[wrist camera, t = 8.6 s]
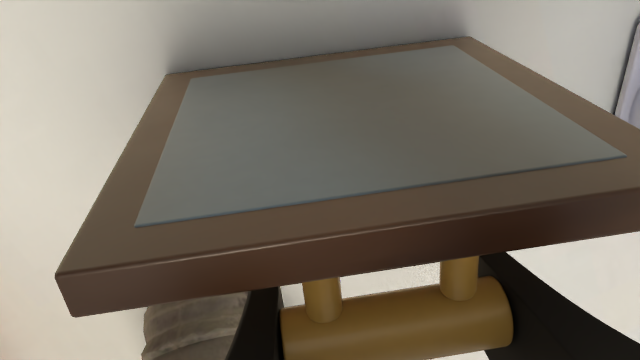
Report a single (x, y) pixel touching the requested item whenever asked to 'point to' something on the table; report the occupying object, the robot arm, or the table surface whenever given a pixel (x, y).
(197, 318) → the hiking shoe
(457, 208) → the picture frame
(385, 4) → the table surface
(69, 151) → the table surface
